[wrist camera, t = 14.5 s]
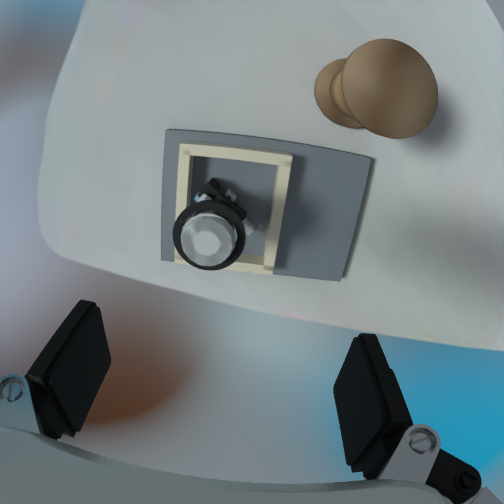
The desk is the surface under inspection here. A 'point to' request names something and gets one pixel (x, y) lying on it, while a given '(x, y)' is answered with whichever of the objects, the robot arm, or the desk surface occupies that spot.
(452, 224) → the desk surface
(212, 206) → the push button
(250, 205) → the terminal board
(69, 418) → the robot arm
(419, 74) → the wooden cabinet knob
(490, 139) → the desk surface
